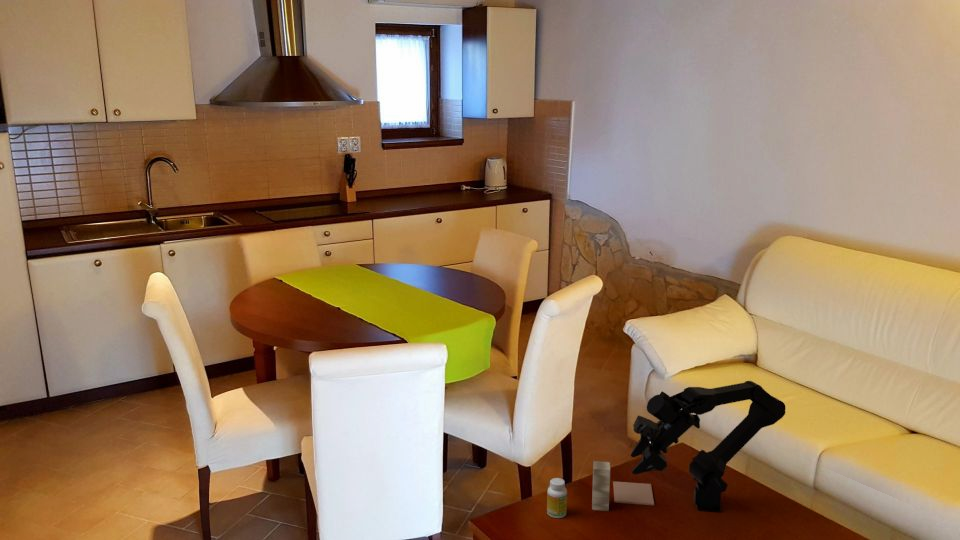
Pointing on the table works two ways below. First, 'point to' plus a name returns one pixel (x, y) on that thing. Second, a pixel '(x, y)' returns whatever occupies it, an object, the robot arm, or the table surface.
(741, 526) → the table surface
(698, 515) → the table surface
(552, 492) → the supplement bottle
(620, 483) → the plate
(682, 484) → the table surface
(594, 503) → the birch pillar
